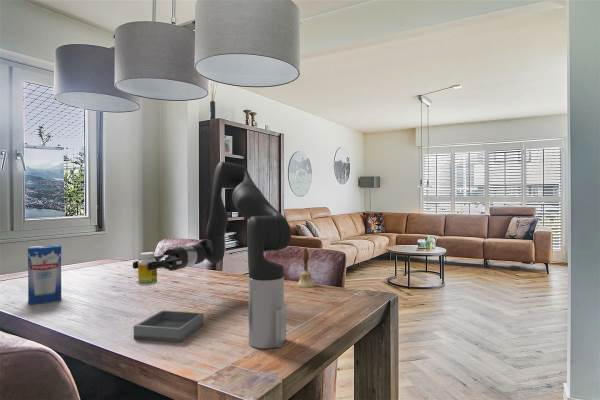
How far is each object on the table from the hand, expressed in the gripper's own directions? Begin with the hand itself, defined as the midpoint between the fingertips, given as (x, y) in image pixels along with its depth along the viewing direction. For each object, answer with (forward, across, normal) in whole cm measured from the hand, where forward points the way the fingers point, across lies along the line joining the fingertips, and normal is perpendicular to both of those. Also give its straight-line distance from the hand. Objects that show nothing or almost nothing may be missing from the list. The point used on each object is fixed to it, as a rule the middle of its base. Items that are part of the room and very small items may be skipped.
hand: (141, 266), depth 110 cm
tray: (+1, +13, +18) cm, 22 cm away
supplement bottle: (-3, 0, +6) cm, 7 cm away
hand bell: (-64, +26, +18) cm, 72 cm away
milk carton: (-3, -52, +17) cm, 55 cm away
